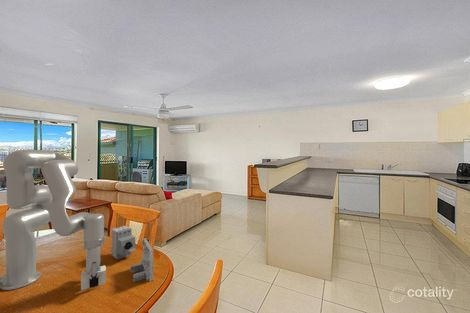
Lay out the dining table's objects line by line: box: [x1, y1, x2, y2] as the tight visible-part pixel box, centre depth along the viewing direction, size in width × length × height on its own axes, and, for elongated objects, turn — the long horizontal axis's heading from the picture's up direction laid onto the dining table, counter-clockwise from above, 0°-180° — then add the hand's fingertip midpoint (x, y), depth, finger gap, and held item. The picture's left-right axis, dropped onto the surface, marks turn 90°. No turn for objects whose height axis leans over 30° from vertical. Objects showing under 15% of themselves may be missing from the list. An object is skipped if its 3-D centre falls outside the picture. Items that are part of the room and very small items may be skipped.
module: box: [80, 265, 107, 291], centre depth 91 cm, size 9×5×6 cm, turn 125°
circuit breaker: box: [110, 225, 136, 260], centre depth 116 cm, size 8×14×15 cm, turn 53°
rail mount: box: [129, 237, 154, 283], centre depth 99 cm, size 8×16×14 cm, turn 35°
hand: (93, 281), depth 91 cm, fingers open, 7 cm apart
